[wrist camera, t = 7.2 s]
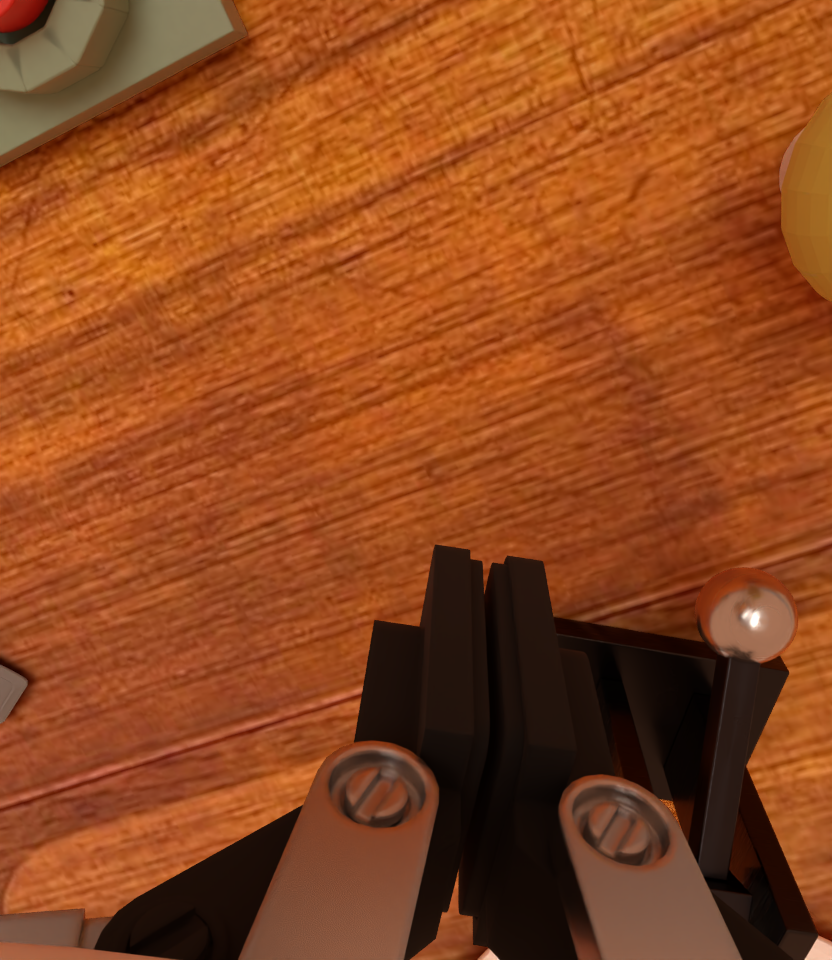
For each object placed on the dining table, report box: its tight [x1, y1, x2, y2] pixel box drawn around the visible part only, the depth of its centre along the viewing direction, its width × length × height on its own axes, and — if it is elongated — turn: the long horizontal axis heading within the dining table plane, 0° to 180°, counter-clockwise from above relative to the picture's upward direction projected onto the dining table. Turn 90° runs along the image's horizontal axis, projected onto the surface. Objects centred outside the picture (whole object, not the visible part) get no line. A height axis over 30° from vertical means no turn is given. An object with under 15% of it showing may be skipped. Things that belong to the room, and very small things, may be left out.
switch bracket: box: [553, 617, 818, 960], centre depth 30 cm, size 8×10×12 cm
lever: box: [688, 567, 798, 922], centre depth 26 cm, size 13×3×3 cm, turn 171°
